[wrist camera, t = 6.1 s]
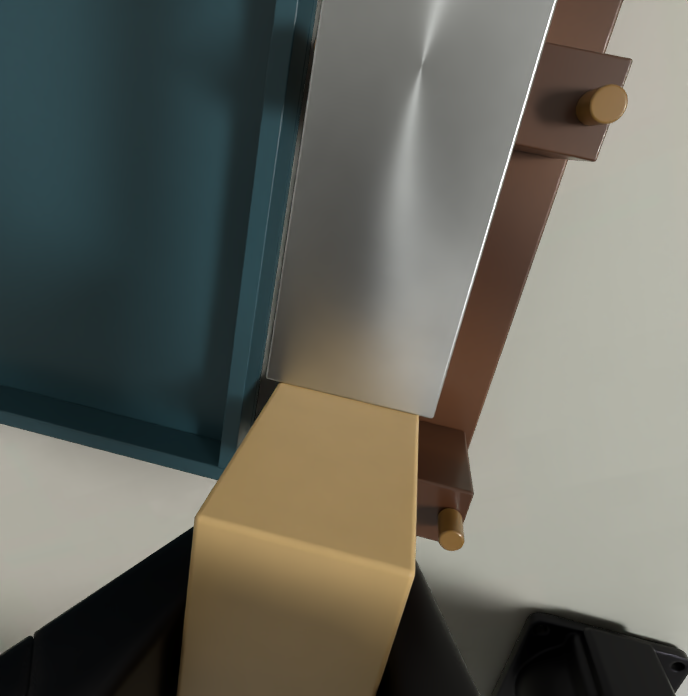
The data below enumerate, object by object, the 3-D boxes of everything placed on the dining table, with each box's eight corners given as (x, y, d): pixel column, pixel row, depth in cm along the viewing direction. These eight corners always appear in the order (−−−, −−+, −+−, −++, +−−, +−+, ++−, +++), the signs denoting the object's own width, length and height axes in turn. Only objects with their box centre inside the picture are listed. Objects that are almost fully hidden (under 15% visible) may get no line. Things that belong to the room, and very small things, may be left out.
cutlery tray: (249, 452, 21) (231, 485, 19) (-100, 363, 22) (-151, 384, 20) (346, -186, 13) (332, -244, 11) (-196, -282, 14) (-295, -351, 12)
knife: (345, 704, 11) (313, 938, 7) (224, 670, 11) (141, 885, 8) (691, -468, 5) (1290, -1862, 1) (404, -505, 5) (360, -1817, 2)
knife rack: (452, 474, 20) (462, 588, 15) (276, 430, 20) (226, 525, 15) (635, -64, 13) (768, -197, 8) (369, -114, 14) (336, -268, 9)
